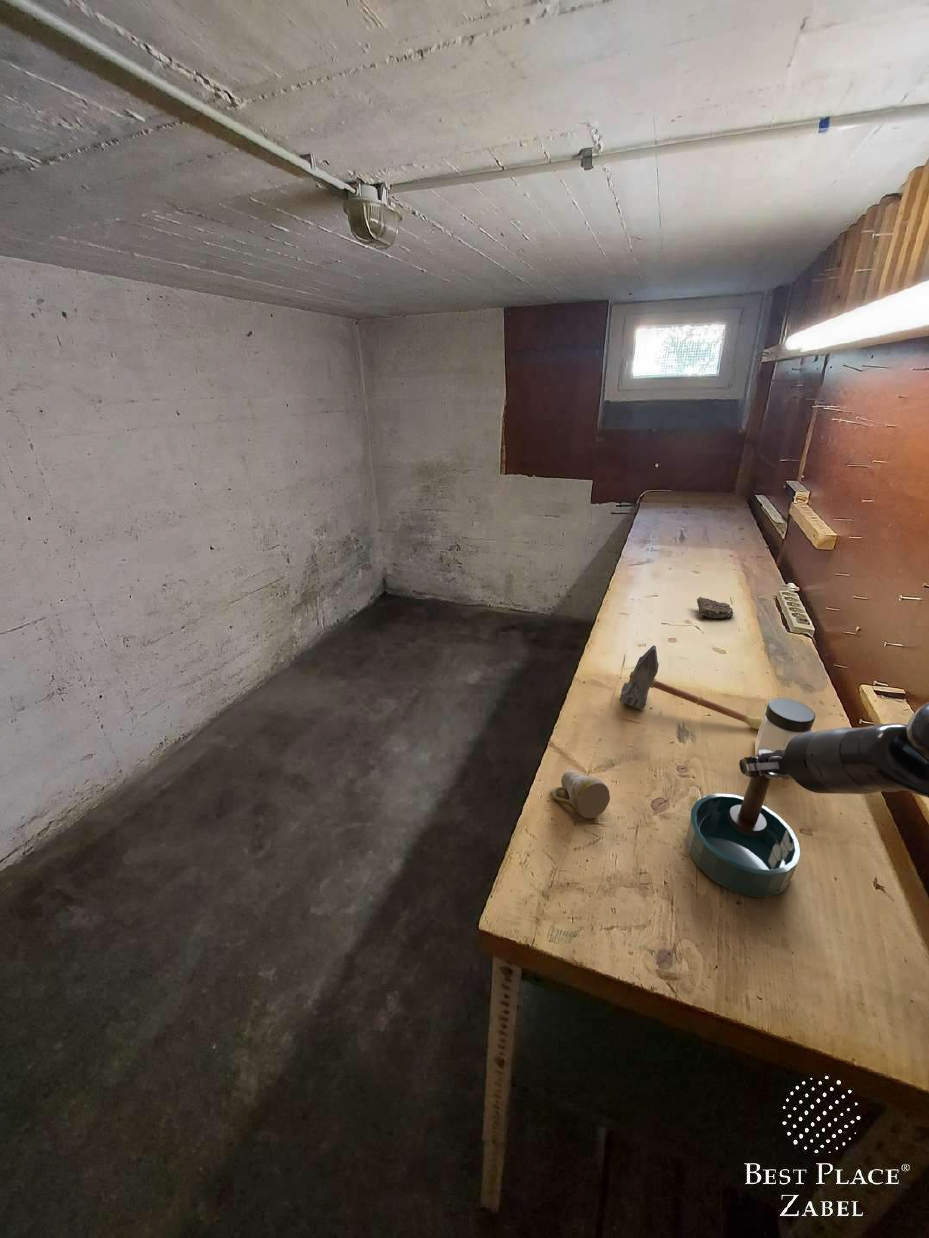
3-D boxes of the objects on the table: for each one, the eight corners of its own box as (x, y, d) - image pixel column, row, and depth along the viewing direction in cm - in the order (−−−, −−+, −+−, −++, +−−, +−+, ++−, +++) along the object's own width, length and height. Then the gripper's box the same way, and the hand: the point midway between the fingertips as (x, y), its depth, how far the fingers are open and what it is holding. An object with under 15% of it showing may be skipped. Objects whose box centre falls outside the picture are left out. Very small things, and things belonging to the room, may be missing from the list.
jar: (808, 760, 100) (826, 713, 95) (787, 776, 96) (805, 728, 91) (765, 736, 107) (779, 691, 102) (744, 750, 103) (757, 704, 98)
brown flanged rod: (741, 805, 80) (762, 739, 74) (772, 827, 76) (796, 759, 70) (720, 817, 78) (740, 750, 72) (751, 841, 74) (774, 772, 68)
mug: (577, 775, 98) (603, 755, 91) (593, 825, 92) (622, 807, 85) (545, 777, 95) (570, 756, 88) (559, 828, 90) (586, 810, 82)
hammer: (783, 701, 102) (642, 649, 110) (747, 753, 110) (618, 701, 118) (779, 686, 107) (644, 638, 114) (745, 737, 115) (621, 689, 123)
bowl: (723, 805, 90) (730, 781, 87) (810, 871, 78) (821, 845, 75) (664, 840, 84) (670, 815, 81) (749, 918, 71) (759, 892, 69)
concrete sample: (694, 618, 160) (697, 604, 158) (694, 606, 168) (697, 593, 166) (733, 623, 156) (737, 609, 154) (731, 611, 164) (734, 597, 162)
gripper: (882, 725, 60) (788, 738, 76) (775, 733, 59) (703, 744, 76) (904, 788, 58) (802, 788, 74) (793, 798, 57) (715, 795, 73)
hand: (752, 766), depth 75 cm, fingers closed on brown flanged rod, 2 cm apart
